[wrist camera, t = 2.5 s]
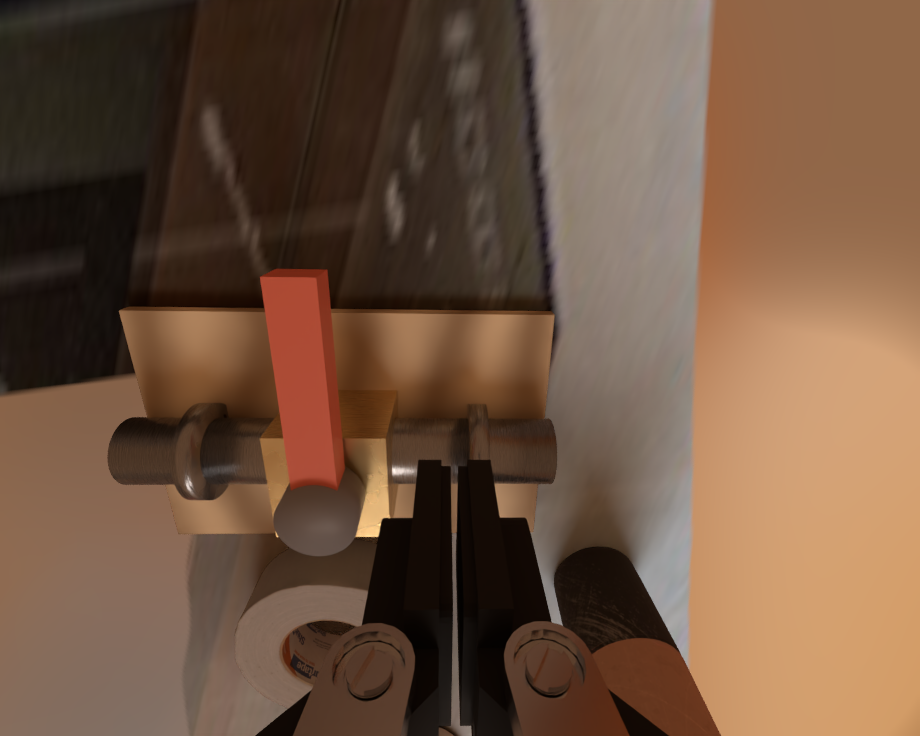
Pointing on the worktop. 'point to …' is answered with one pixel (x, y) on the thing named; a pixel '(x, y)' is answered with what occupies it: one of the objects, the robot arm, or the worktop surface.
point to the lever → (309, 415)
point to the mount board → (341, 382)
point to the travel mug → (630, 640)
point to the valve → (364, 445)
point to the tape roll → (300, 617)
